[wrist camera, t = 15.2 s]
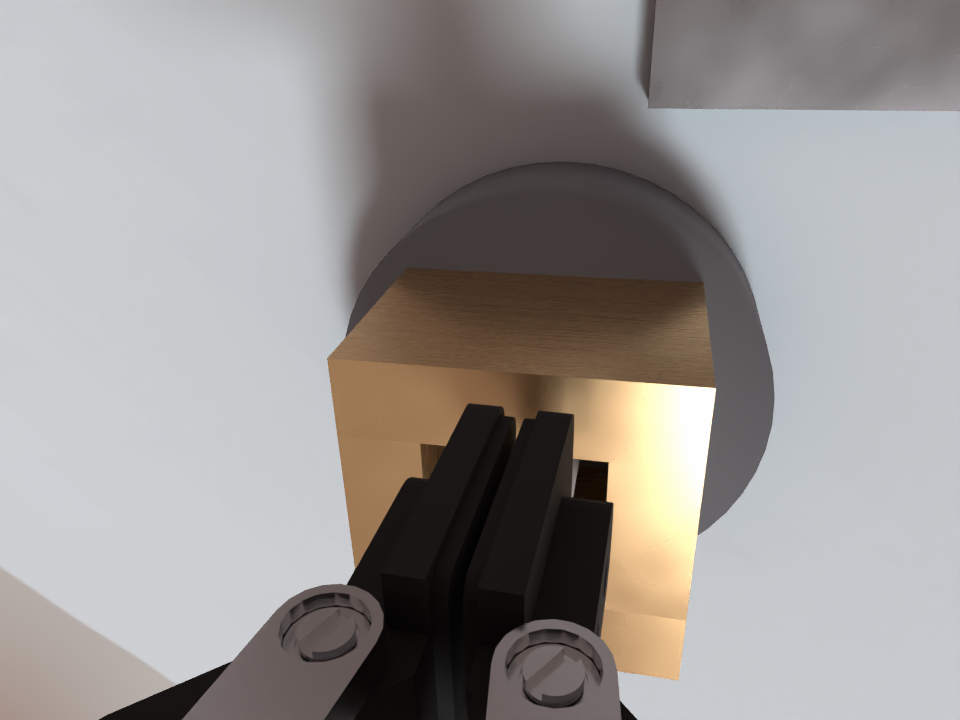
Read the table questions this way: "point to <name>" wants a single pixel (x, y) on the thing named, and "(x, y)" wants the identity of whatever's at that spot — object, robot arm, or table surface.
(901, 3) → the stand
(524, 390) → the collar
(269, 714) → the robot arm
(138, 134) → the table surface
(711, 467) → the hub
